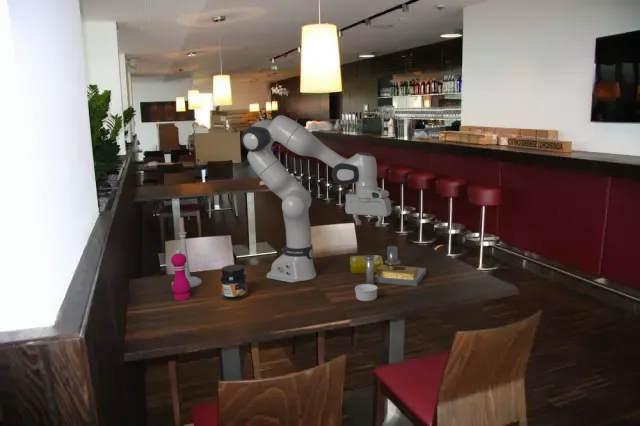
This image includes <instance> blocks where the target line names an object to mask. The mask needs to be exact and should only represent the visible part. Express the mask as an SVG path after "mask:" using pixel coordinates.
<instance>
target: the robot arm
mask: <svg viewBox="0 0 640 426" xmlns="http://www.w3.org/2000/svg"><path fill="white" fill-rule="evenodd" d="M241 143H242V146H243V147H244V149H246V150H247V151H248V153H247V156H246V157H247V161H248V163H249V164H250V166H251V168H252V169H253V170H254V172H255V173H256V175H257V176H258V177H259V178H260V179H261V181H262V182H263V183H264V184H265V186H266V187H267V188H268V189H269V191H270V192H272V193H274V194H275V195H276V196H278V198H280V199H281V200H282V202H281V208H282V216H283V222H284V226H285V238H286V239H285V240H286V241H285V243H286V245H284V246H283V248H281V252H283V254H281V255H280V256H279V257H277V258H276V259H275V260H274V261H273V262H272V264H271V268H270V269H271V270H270V271H269V272H267V273H266V278H267V279H271V280H277V281H283V282H287V283H296V282H302V281H309V280H312V279H315V278H316V276H317V272H316V268H315V265H314V260H313V259H314V258H313V257H314V249H313V244H312V229H311V228H312V227H311V222H310V214H309V208H310V207H311V206H312V205H311V204H312V196H311V193H310V192H309V191H308V190H307V189H306V188H305V187H304V186H303V185H302V184H301V183H300V182H299V181H298V180H297V179H296V178H295V177H293V175H292V174H291V173H289V171H288V170H287V168H286V167H284V165H283V164H282V163H281V162H280V160H279V159H278V158H277V157H276V156H275V155H274V153H273V150H272V148H273V147H275V146H276V143H279V144H280V145H282V146H284V147H285V148H286V149H288V150H289V151H291V152H293V153H294V154H296V155H299V156H302V157H305V156H306V157H311V158H316V159H319V160H320V161H322V162H323V163H325V164H326V165H327V166H329V167H330V168H332V170H331V177H332V180H333V182H335V183H336V184H337V185H339V186H343V187H344V186H348V185H352V184H355V191H347V193H346V194H345V209H344V210H345V213H346V214H348V215H352V217H353V219H354V221H355V226H361V225H362V220H360V219H359V215H360V216H369V217H370V216H373V217H377V219H378V220H377V221H376V222H375V227H377V228H380V227H382V221H383V218H384V217H388V216H391V213H392V204H391V202H392V201H391V199H390V197H389V196H390V192H389V190H386V189H383V188H381V187H378V181H377V180H378V179H377V176H378V166H377V160H376V157H375V155H373V154H372V153H368V152H357V153H355V155H353V156H351V157H349V158H347V157H345V156H342V155H340V154H339V153H337V152H336V151H334V150H333V149H332V148H330V147H329V146H327V145H326V144H324V143H323V142H322V141H320V140H319V139H318V138H317V136H315V135H314V134H313V133H312V132H311V131H309V130H308V129H307V128H306V127H304V126H303V125H301V124H300V123H299V122H297V121H295V120H293V119H292V118H290V117H287V116H286V115H282V114H281V115H276V117H274V118H263V119H262V120H259V121H257V122H255V123H253V124H252V125H251V126H249V127H247V128H246V129H245V130H244V131H243V133H242V134H241Z"/></svg>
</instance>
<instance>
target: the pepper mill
mask: <svg viewBox="0 0 640 426" xmlns="http://www.w3.org/2000/svg"><path fill="white" fill-rule="evenodd" d="M186 261H187V259H186V256H185V255H184V254H181V249H176V250H175V254H173V255H171V259H170V262H171V264H172V265H173V266H172V269H173V271H174V279H173V281H172V282H173V284H172V283H171V290H172V292H173V293H174V294H173V298H174V300H175V301H185V300H189V298H191V293H190V289H191V287H190V283H189V281H188V279H187V278H186V275H185V269H186V265H185V263H186Z"/></svg>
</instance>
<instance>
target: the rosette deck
mask: <svg viewBox="0 0 640 426" xmlns="http://www.w3.org/2000/svg"><path fill="white" fill-rule="evenodd" d="M386 249H387V250H386V251H387V252H386V254H387V259H386V260H384V264H383V265H381V266H379V267H378V268H377V272H376V275H375V276H374V283H379V284H380V283H381V284H388V285H389V284H393V285H400V286H401V285H403V286H409V287H410V286H413V287H417V286H418V285H419V284H420V282H421V281H422V279H423V278H424V277H425V276H426V274H427V269H426V267H417V266H405V265H401V260H399V259H398V256H399V255H398V246H395V245H390V246H387V248H386Z"/></svg>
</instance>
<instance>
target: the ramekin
mask: <svg viewBox="0 0 640 426" xmlns="http://www.w3.org/2000/svg"><path fill="white" fill-rule="evenodd" d="M354 291H355V298H356V299H357V300H359V301H362V302H370V301H374V300H376V299H377V297H378V286H377V285H376V284H374V285H372V284H366V283H362V284H358V285H356V286H355V287H354Z"/></svg>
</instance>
